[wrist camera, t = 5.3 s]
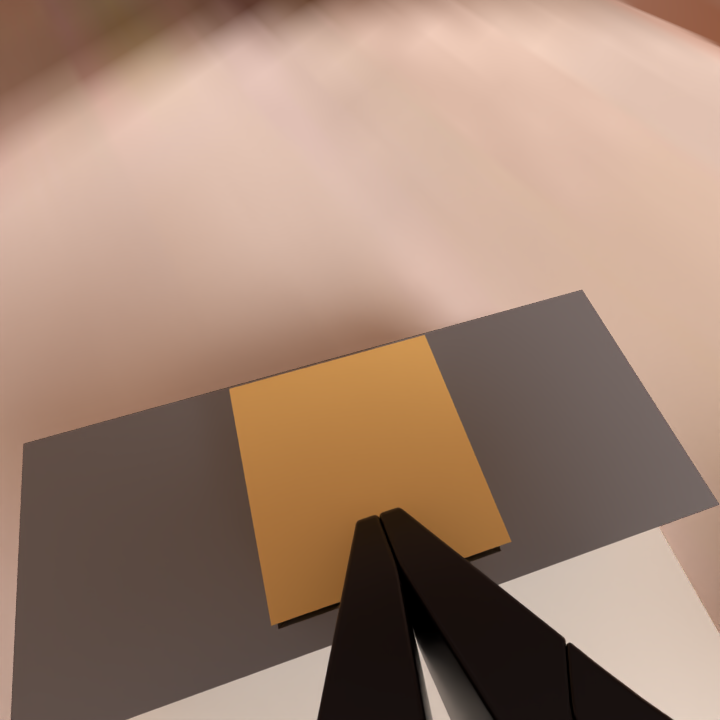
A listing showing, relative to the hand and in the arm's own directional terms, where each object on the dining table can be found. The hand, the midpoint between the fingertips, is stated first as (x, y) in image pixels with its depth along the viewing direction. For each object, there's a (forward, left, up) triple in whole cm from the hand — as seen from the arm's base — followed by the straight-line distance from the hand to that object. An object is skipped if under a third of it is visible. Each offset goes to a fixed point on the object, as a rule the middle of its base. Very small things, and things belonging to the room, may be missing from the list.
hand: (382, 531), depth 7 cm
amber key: (+1, +1, -3) cm, 4 cm away
